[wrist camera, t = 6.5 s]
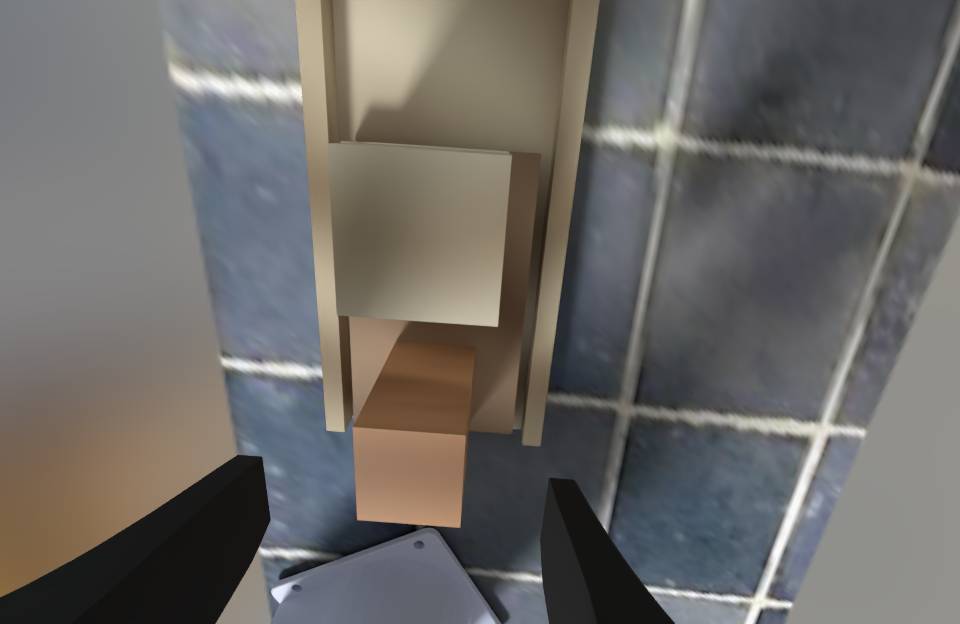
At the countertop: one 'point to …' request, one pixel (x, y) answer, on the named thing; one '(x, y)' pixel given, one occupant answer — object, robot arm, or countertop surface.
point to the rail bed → (449, 133)
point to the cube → (418, 231)
